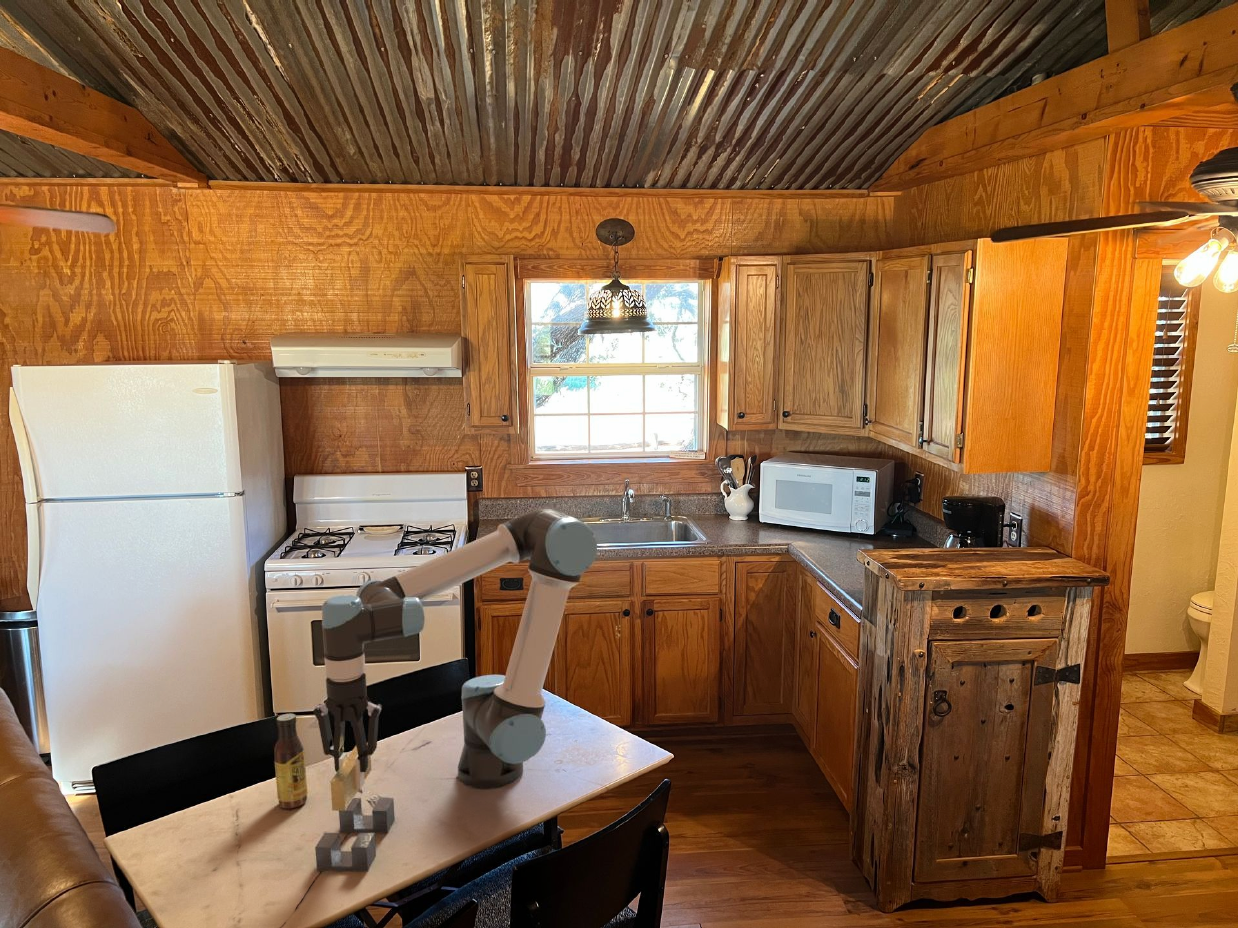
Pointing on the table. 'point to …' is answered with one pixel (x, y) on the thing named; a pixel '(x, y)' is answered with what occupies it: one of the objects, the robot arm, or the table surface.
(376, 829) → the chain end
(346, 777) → the link bar
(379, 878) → the table surface
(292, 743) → the sauce bottle
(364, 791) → the fork
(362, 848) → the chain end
